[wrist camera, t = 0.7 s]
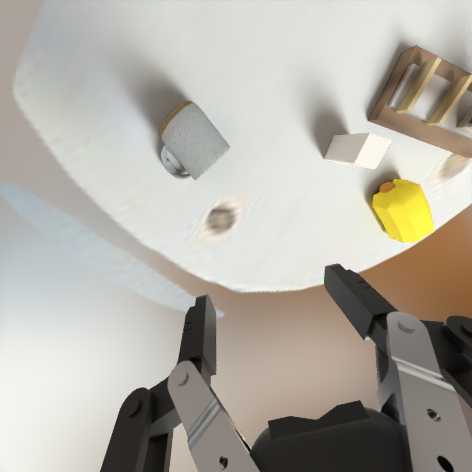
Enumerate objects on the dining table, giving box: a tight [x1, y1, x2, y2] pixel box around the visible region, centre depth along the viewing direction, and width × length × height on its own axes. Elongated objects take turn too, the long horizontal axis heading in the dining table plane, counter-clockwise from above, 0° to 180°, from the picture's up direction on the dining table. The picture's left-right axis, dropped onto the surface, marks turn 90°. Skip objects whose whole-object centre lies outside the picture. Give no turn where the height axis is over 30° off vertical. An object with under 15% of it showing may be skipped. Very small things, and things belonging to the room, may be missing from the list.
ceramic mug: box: [160, 101, 230, 180], centre depth 25 cm, size 11×8×8 cm
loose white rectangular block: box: [324, 133, 392, 169], centre depth 28 cm, size 4×4×8 cm
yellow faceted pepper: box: [372, 179, 434, 243], centre depth 36 cm, size 18×7×8 cm
